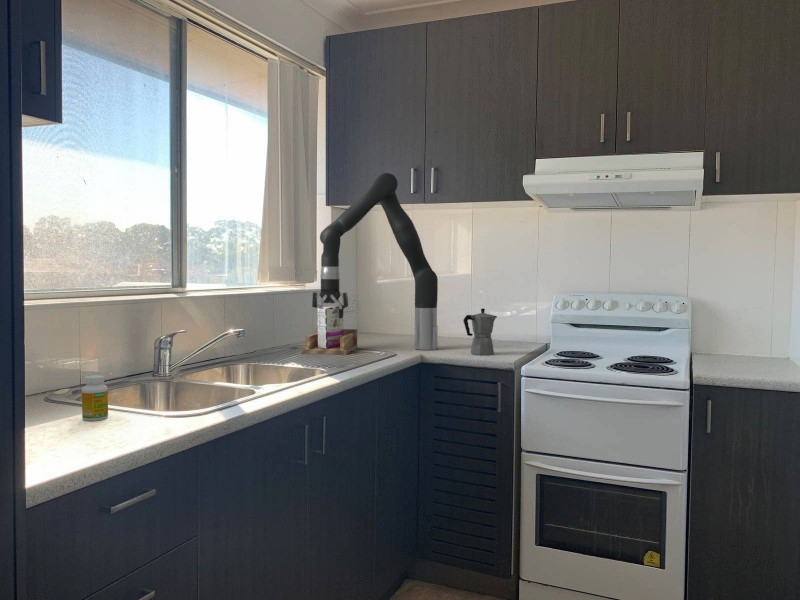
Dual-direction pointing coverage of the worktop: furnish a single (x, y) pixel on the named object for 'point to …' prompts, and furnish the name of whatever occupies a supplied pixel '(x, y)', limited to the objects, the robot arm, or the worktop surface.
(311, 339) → the walnut rack
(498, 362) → the worktop surface
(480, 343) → the coffeepot
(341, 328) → the candy bar box
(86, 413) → the supplement bottle
